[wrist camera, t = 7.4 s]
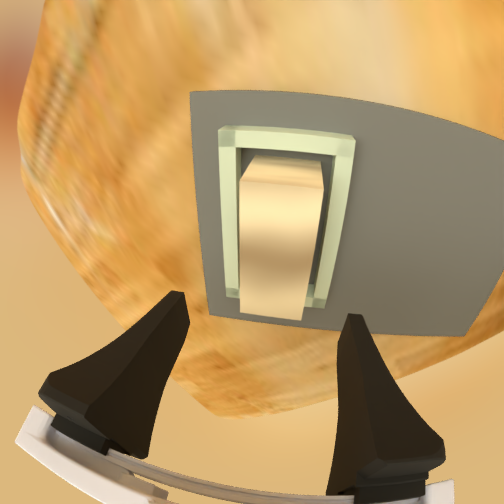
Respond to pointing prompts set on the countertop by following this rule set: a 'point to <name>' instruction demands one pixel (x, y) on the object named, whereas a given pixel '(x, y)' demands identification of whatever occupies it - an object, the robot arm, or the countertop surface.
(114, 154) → the countertop surface
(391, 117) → the rubber mat
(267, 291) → the birch block
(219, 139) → the sage frame
